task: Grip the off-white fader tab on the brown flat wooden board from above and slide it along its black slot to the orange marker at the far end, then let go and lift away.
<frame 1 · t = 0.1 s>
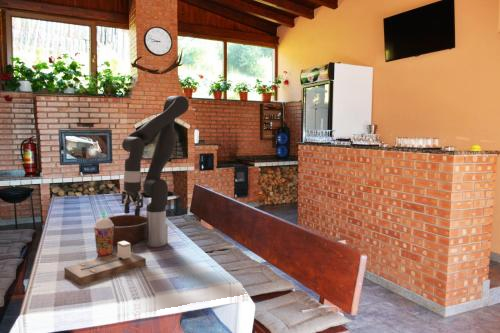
hand: (131, 215, 180), 17 cm above the table, tool pointing down, fingers open, 8 cm apart
wooden bowl: (125, 240, 199), on the table
fader tab: (124, 249, 165), point 7 cm above the table, slide at -8.0 cm
brown flat wooden board: (106, 269, 160), on the table
smoothie: (104, 255, 177), on the table
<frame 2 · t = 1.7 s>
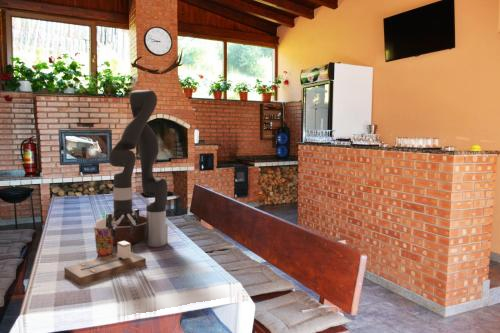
hand: (123, 235, 164), 13 cm above the table, tool pointing down, fingers open, 8 cm apart
nothing on the table moved.
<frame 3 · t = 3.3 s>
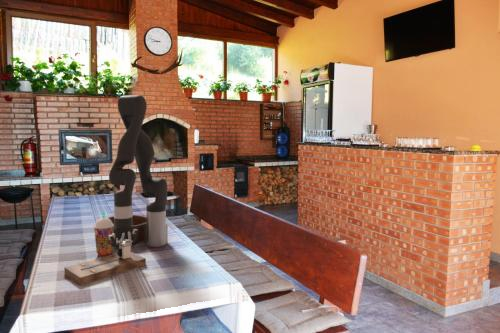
hand: (124, 255, 165), 4 cm above the table, tool pointing down, fingers closed on fader tab, 3 cm apart
fader tab: (124, 249, 165), point 7 cm above the table, slide at -8.0 cm, touching gripper
everything else where it was.
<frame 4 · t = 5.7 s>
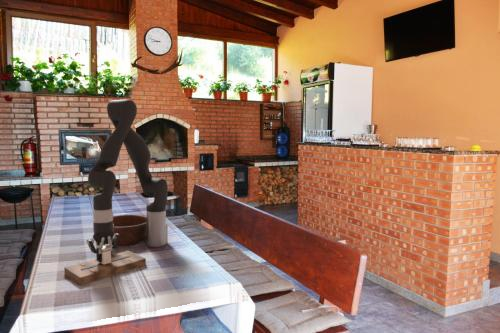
hand: (104, 260, 158), 4 cm above the table, tool pointing down, fingers closed on fader tab, 3 cm apart
fader tab: (104, 254, 158), point 7 cm above the table, slide at 0.9 cm, touching gripper
everything else where it was.
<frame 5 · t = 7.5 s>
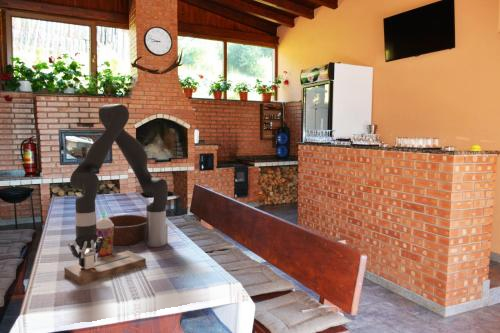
hand: (87, 265, 153), 4 cm above the table, tool pointing down, fingers closed on fader tab, 3 cm apart
fader tab: (87, 259, 153), point 7 cm above the table, slide at 7.9 cm, touching gripper
everything else where it was.
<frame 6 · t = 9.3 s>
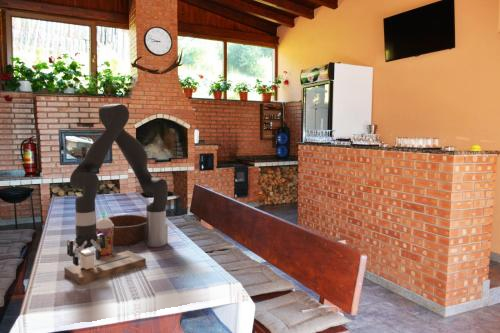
hand: (87, 262, 153), 5 cm above the table, tool pointing down, fingers open, 8 cm apart
fader tab: (87, 259, 153), point 7 cm above the table, slide at 7.9 cm
everything else where it was.
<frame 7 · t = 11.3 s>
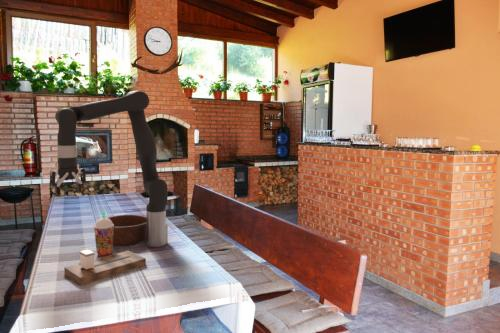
hand: (68, 193, 166), 29 cm above the table, tool pointing down, fingers open, 8 cm apart
nothing on the table moved.
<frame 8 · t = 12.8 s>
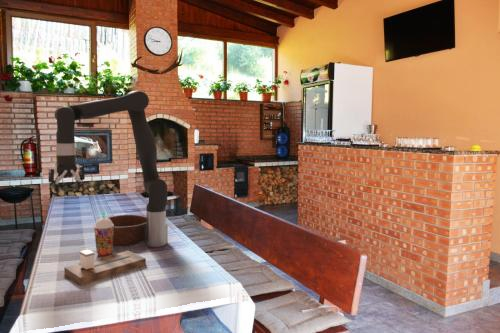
hand: (67, 191, 167), 30 cm above the table, tool pointing down, fingers open, 8 cm apart
nothing on the table moved.
at the end: fader tab slide at 7.9 cm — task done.
